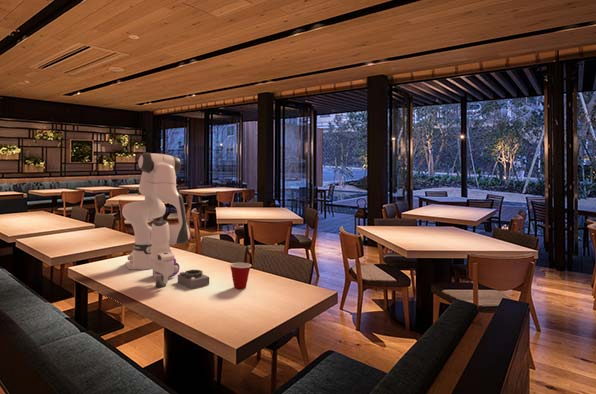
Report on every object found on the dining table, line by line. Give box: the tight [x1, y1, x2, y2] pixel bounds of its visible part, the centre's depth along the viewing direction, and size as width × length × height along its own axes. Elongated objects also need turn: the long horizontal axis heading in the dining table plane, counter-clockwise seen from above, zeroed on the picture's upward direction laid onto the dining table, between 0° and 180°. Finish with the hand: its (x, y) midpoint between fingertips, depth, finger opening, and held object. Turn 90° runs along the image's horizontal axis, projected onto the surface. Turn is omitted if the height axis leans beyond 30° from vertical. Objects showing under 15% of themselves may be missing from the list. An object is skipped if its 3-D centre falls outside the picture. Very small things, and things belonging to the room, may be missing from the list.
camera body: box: [177, 269, 210, 290], centre depth 190 cm, size 14×10×6 cm
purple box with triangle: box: [152, 257, 181, 278], centre depth 202 cm, size 11×14×10 cm
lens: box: [154, 272, 167, 289], centre depth 185 cm, size 5×5×7 cm
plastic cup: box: [229, 262, 252, 290], centre depth 184 cm, size 11×11×12 cm
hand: (160, 280), depth 185 cm, fingers open, 8 cm apart
